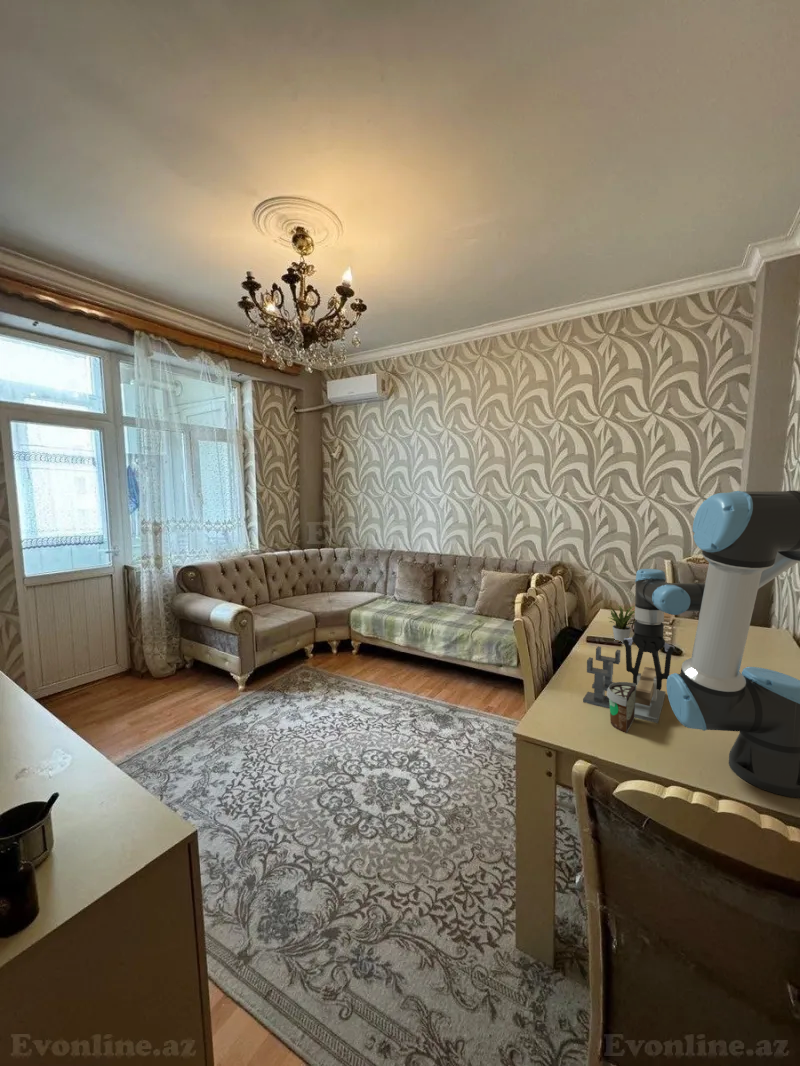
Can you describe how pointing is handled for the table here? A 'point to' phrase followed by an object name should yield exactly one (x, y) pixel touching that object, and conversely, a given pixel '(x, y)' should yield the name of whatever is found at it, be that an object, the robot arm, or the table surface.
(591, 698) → the post near
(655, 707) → the mat
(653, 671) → the rail
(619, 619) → the house plant
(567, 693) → the table surface
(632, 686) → the food container
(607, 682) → the post far
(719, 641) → the robot arm
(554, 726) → the table surface
